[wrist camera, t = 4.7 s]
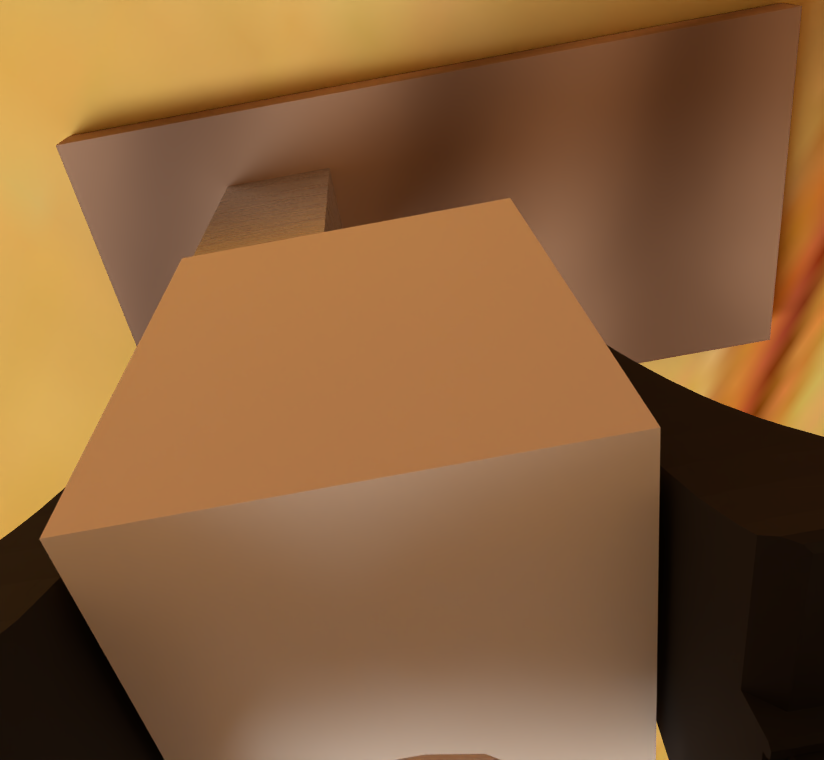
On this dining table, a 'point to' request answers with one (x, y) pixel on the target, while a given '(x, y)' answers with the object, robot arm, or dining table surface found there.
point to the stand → (509, 170)
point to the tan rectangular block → (374, 506)
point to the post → (272, 211)
